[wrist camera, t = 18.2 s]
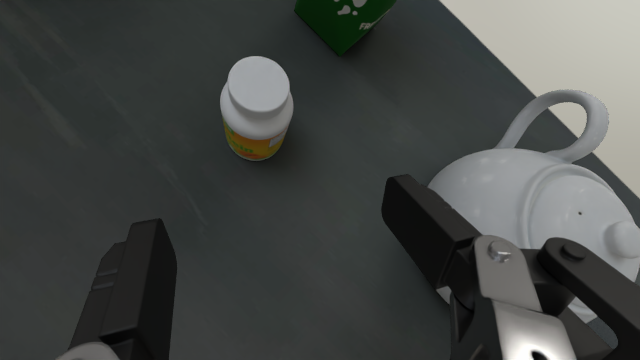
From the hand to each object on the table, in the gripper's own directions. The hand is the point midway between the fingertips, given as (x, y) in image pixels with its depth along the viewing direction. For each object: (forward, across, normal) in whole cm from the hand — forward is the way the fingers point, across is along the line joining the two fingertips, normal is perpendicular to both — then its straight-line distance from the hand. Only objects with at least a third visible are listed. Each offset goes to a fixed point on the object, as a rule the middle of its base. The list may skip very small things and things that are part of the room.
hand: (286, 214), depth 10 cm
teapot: (+8, -22, +16) cm, 29 cm away
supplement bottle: (+18, -1, +5) cm, 19 cm away
